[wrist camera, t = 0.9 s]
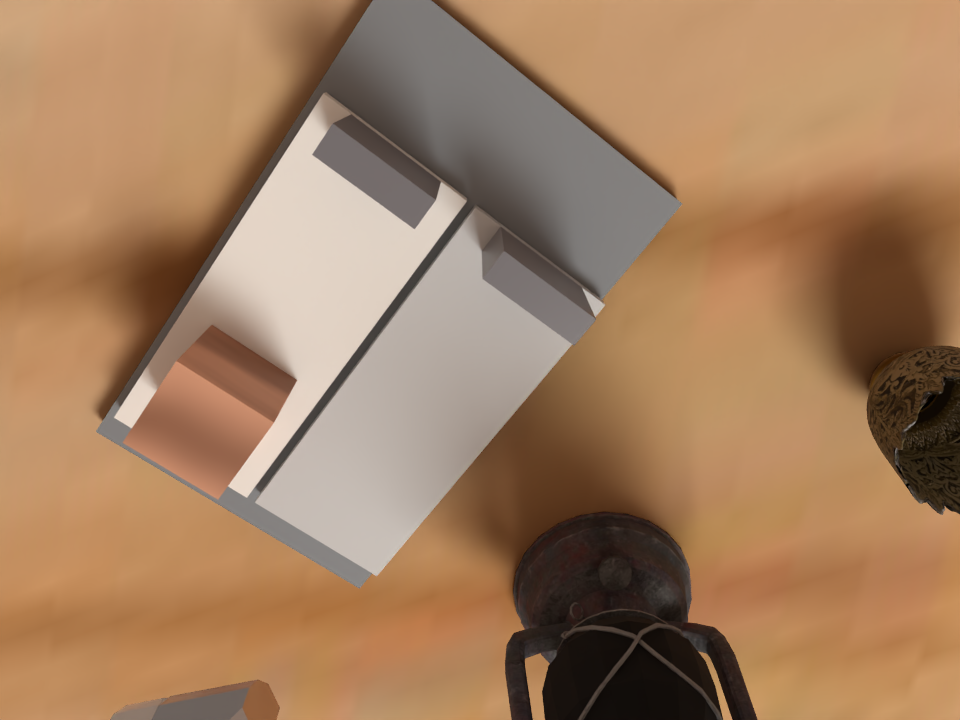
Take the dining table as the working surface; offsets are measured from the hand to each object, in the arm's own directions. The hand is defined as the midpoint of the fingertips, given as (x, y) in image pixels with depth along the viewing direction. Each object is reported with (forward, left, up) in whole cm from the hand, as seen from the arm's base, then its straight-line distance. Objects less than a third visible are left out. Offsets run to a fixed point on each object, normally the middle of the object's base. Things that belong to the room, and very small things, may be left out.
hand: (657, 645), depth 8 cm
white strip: (+12, -5, -32) cm, 34 cm away
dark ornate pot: (-4, +23, -33) cm, 41 cm away
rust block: (+17, -5, -31) cm, 36 cm away
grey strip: (+12, +3, -32) cm, 34 cm away
